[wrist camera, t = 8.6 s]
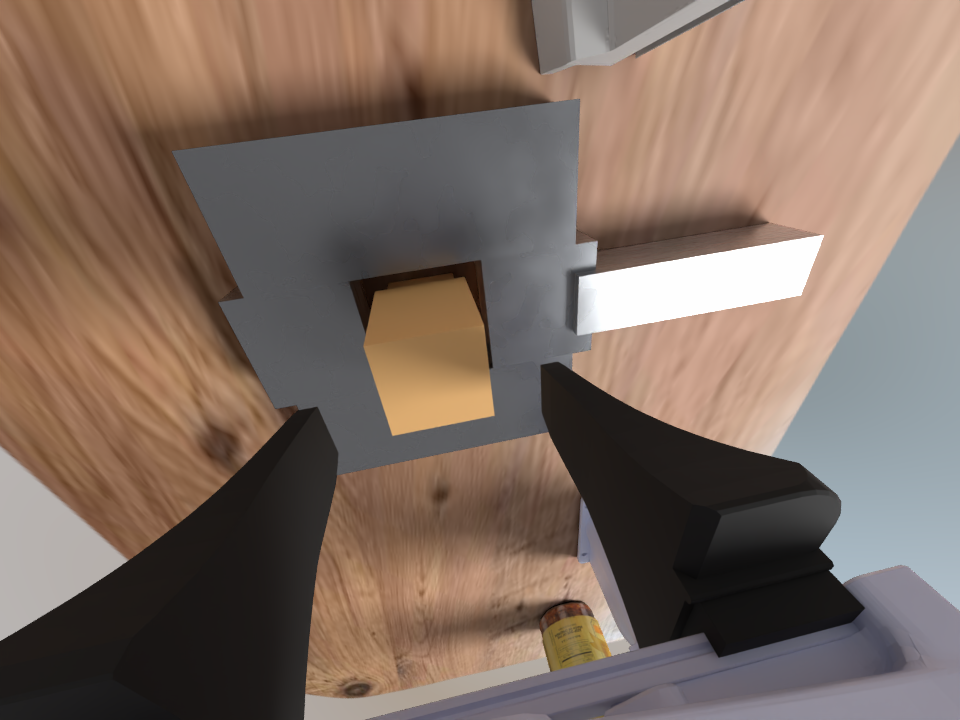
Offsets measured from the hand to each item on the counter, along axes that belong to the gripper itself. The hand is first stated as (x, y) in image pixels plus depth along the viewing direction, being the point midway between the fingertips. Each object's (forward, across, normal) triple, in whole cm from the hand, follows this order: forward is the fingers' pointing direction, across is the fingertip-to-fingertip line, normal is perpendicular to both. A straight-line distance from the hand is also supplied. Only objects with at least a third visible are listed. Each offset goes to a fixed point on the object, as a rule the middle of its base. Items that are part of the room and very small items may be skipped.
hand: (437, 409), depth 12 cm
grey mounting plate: (+8, -6, 0) cm, 10 cm away
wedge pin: (+8, 0, 0) cm, 8 cm away
